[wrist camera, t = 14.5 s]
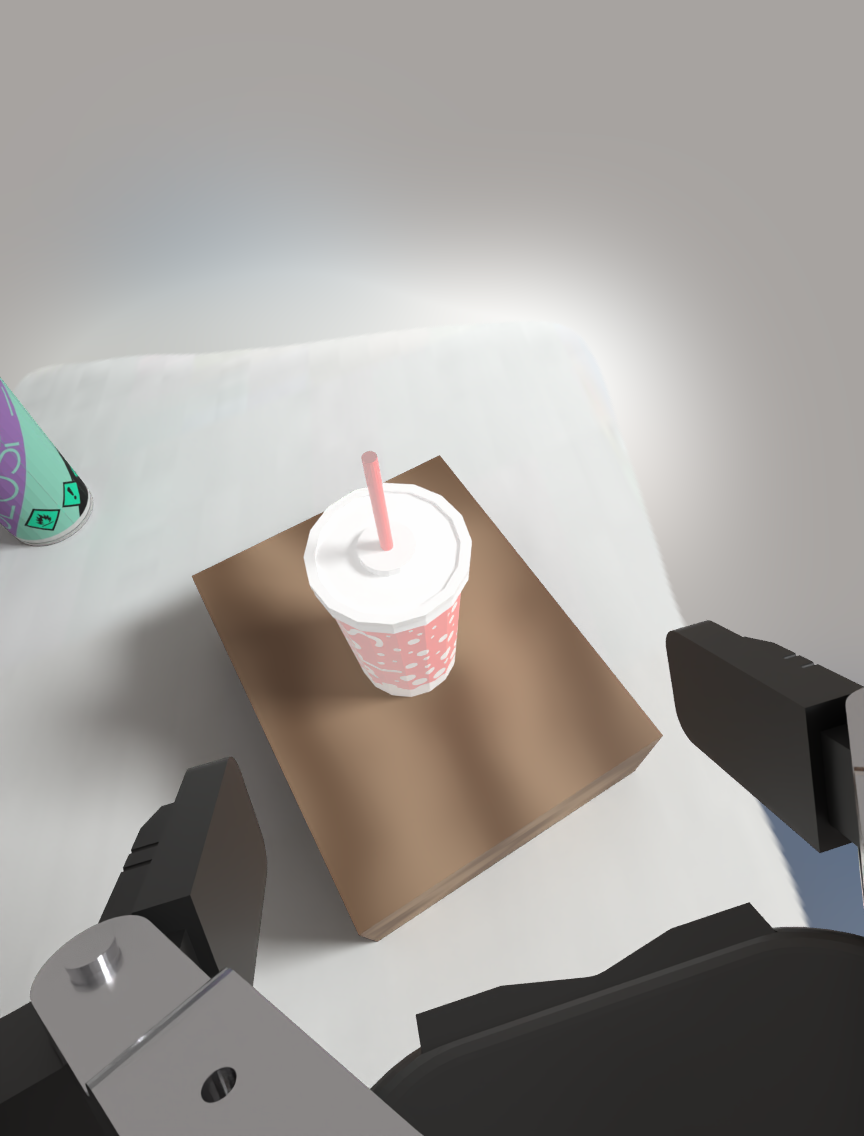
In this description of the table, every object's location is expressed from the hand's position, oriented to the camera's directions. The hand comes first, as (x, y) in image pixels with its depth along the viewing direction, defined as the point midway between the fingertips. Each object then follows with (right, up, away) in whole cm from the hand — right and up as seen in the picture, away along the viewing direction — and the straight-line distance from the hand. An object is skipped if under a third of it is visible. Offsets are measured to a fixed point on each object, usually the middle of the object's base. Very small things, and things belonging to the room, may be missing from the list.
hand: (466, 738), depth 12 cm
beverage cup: (-2, -1, +20) cm, 20 cm away
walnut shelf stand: (-1, -4, +25) cm, 25 cm away
